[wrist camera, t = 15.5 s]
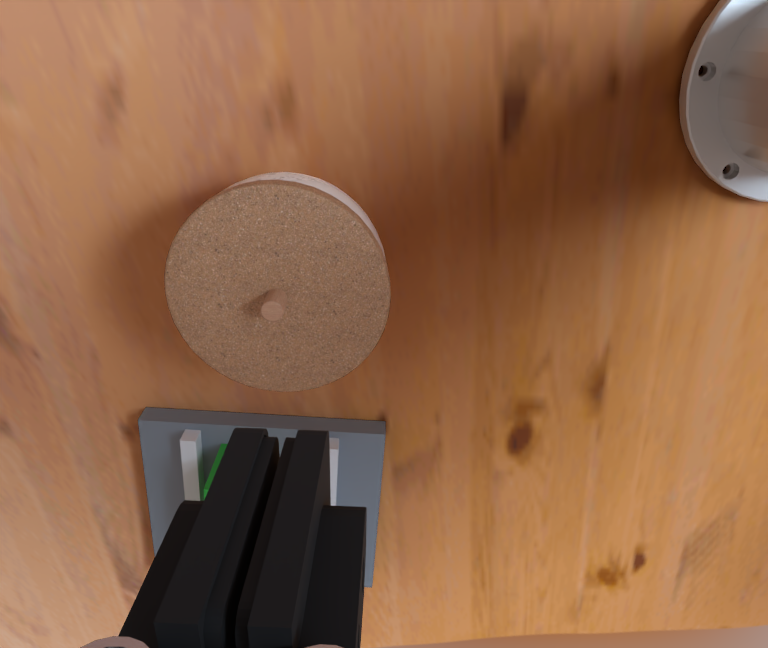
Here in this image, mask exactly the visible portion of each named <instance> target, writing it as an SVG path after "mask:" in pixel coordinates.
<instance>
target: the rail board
mask: <svg viewBox="0 0 768 648" xmlns="http://www.w3.org/2000/svg"><path fill="white" fill-rule="evenodd" d="M138 426H139V434H140V442H141V450H142V458H143V466H144V474H145V482H146V490H147V498H148V506H149V514H150V522H151V530H152V538H153V546H154V554H155V556H156V554H157V552H158V550H159V547H160V545H161V543H162V541H163V539H164V537H165V535H166V532H167V530H168V528H169V526H170V524H171V522H172V519H173V517H174V515H175V513H176V511H177V509H178V507H179V506H180V504H181V503H182V502H183V501H184V500H192V501H204V487H205V484H206V482H207V479H208V477H209V474H210V471H211V469H212V466H213V464H214V461H215V459H216V456H217V453H218V451H219V448H220V446H221V443H222V444H228V442H229V439H230V437H231V435H232V432H233V430H234V429H235V428H265V429H267V431H268V437H277V438H278V441H279V454H280V455H281V452H282V448H283V445H284V441H285V438H286V437H291V438H296V434H297V431H298V430H322V431H329V441H330V494H331V506H357V507H366V509H367V522H366V562H365V582H364V587H372V582H373V571H374V559H375V548H376V537H377V526H378V514H379V503H380V492H381V480H382V469H383V458H384V446H385V435H386V428H385V421H371V420H354V419H337V418H320V417H303V416H286V415H269V414H253V413H236V412H219V411H202V410H185V409H168V408H151V407H146V408H145V410H144V411H143V413H142V414H141V416H140V417H139V419H138Z"/></svg>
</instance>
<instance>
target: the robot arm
mask: <svg viewBox="0 0 768 648" xmlns="http://www.w3.org/2000/svg"><path fill="white" fill-rule="evenodd" d="M701 66H703V72H702V74H701V75H699V76H698V71H699V69H700V67H701ZM679 110H680V124H681V128H682V132H683V136H684V139H685V143H686V146H687V147H688V149H689V151H690V153H691V155H692V157H693V159H694V161H695V163H696V164H697V165H698V166H699V167H700V168H701V169H702V171H703V172H704V173H705V174H706V175H707V176H708V177H709V178H710V179H712V180H713V181H714V182H716V183H717V184H719V185H720V186H721V187H723V188H725V189H727V190H729V191H731V192H733V193H735V194H737V195H739V196H743V197H746V198H750V199H753V200H757V201H762V202H768V0H720V1H719V2H718V3H717V5H716V6H715V8H714V9H713V11H712V12H711V13H710V15H709V16H708V18H707V19H706V21H705V22H704V24H703V25H702V27H701V29H700V31H699V33H698V35H697V37H696V39H695V41H694V43H693V45H692V47H691V49H690V52H689V55H688V58H687V62H686V65H685V68H684V71H683V75H682V81H681V88H680V96H679ZM726 165H727V167H726V170H725V171H723V169H724V168H725V166H726ZM366 522H367V509H366V507H357V506H331V494H330V441H329V431H322V430H298V431H297V434H296V438H291V437H286V438H285V441H284V445H283V448H282V452H281V455H280V454H279V441H278V438H277V437H268V431H267V429H265V428H235V429H234V430H233V432H232V435H231V437H230V439H229V442H228V444H227V447H226V449H225V451H224V454H223V456H222V459H221V461H220V463H219V466H218V468H217V471H216V473H215V476H214V478H213V480H212V483H211V485H210V488H209V490H208V492H207V495H206V497H205V500H204V501H192V500H184V501H183V502H182V503H181V504H180V506H179V507H178V509H177V511H176V513H175V515H174V517H173V519H172V522H171V524H170V526H169V528H168V530H167V532H166V535H165V537H164V539H163V541H162V543H161V545H160V547H159V550H158V552H157V554H156V556H155V558H154V560H153V563H152V565H151V567H150V569H149V571H148V573H147V576H146V578H145V580H144V582H143V584H142V586H141V588H140V591H139V593H138V595H137V597H136V599H135V601H134V604H133V606H132V608H131V610H130V612H129V614H128V617H127V619H126V621H125V623H124V625H123V627H122V630H121V632H120V634H119V636H112V637H108V638H104V639H99V640H95V641H93V642H91V643H89V644H87V645H85V646H83V647H80V648H360V643H361V628H362V613H363V598H364V582H365V562H366Z"/></svg>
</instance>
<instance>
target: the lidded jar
mask: <svg viewBox="0 0 768 648" xmlns="http://www.w3.org/2000/svg"><path fill="white" fill-rule="evenodd" d="M164 280H165V294H166V299H167V304H168V308H169V311H170V313H171V316H172V319H173V321H174V324H175V325H176V327H177V329H178V331H179V332H180V334H181V336H182V338H183V339H184V340H185V341H186V343H187V344H188V345H189V346H190V348H191V349H192V350H193V351H194V352H195V353H196V354H197V355H198V356H199V357H200V358H201V359H202V360H203V361H204V362H205V363H207V364H208V365H209V366H211V367H212V368H213V369H215V370H216V371H217V372H219V373H221V374H223V375H225V376H226V377H228V378H230V379H232V380H234V381H237V382H239V383H242V384H244V385H247V386H250V387H254V388H259V389H263V390H269V391H279V392H290V391H302V390H308V389H314V388H317V387H320V386H323V385H327V384H329V383H332V382H334V381H336V380H338V379H340V378H342V377H344V376H345V375H347V374H348V373H349V372H351V371H352V370H354V369H355V368H356V367H358V366H359V365H360V364H361V363H362V362H363V361H364V360H365V359H366V358H367V357H368V356H369V354H370V353H371V352H372V350H373V349H374V348H375V346H376V345H377V343H378V341H379V339H380V337H381V335H382V333H383V331H384V329H385V325H386V322H387V319H388V316H389V309H390V301H391V291H390V277H389V272H388V267H387V262H386V258H385V254H384V249H383V246H382V244H381V241H380V238H379V236H378V233H377V231H376V229H375V227H374V226H373V224H372V222H371V220H370V219H369V217H368V216H367V214H366V213H365V212H364V211H363V209H362V208H361V207H360V206H359V205H358V204H357V203H356V202H355V201H354V200H353V199H352V198H351V197H350V196H348V195H347V194H346V193H345V192H343V191H342V190H340V189H339V188H337V187H336V186H334V185H333V184H330V183H328V182H326V181H324V180H322V179H319V178H316V177H313V176H309V175H306V174H300V173H292V172H270V173H265V174H260V175H255V176H252V177H250V178H247V179H244V180H242V181H239V182H237V183H234V184H233V185H231V186H229V187H228V188H226V189H224V190H222V191H221V192H220V193H218V194H216V195H215V196H213V197H211V198H210V199H208V200H207V201H205V202H204V203H203V204H202V205H201V206H200V207H198V208H197V209H196V210H195V211H194V212H193V213H192V214H191V215H190V216H189V217H188V218H187V220H186V221H185V222H184V223H183V225H182V226H181V227H180V228H179V230H178V232H177V234H176V236H175V238H174V240H173V241H172V244H171V247H170V250H169V253H168V256H167V259H166V266H165V274H164Z"/></svg>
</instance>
